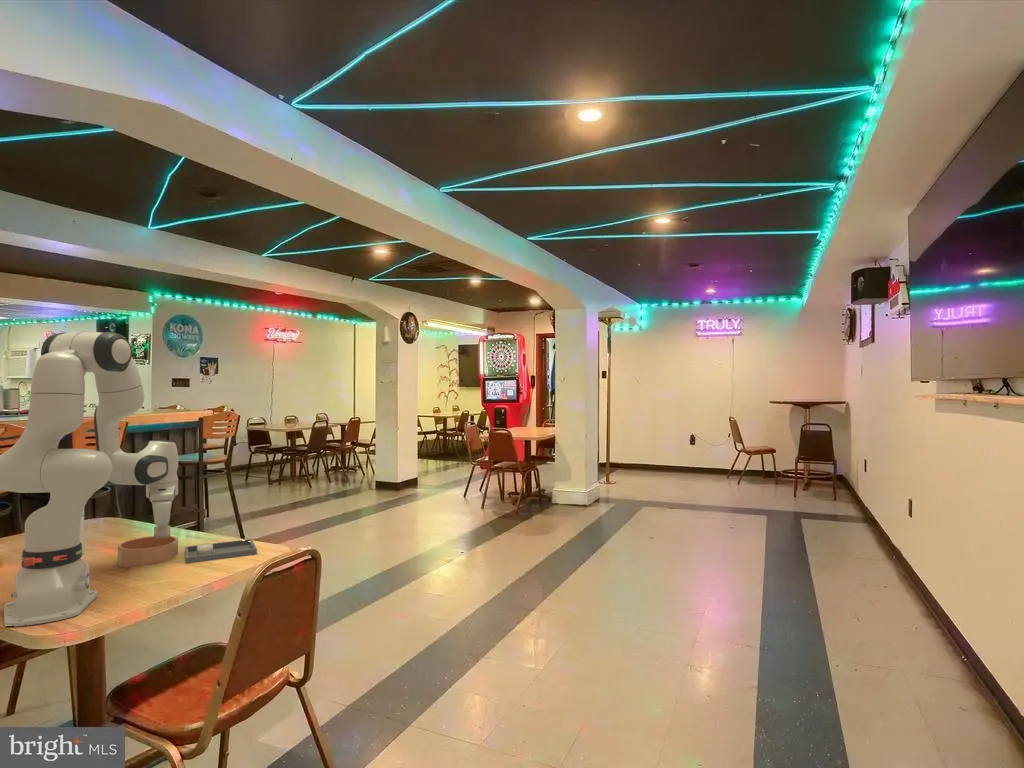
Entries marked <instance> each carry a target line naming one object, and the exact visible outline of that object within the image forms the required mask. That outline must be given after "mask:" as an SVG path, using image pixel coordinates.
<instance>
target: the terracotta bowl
mask: <svg viewBox="0 0 1024 768" xmlns="http://www.w3.org/2000/svg"><path fill="white" fill-rule="evenodd" d="M178 549H179V538H178V537H177V536H173V535H170V537H167V538H162V539H156V538H154V535H151V536H143V537H137V538H132V539H129V540H126V541H123V542H120V543H118V546H117V566H119V565H120V566H119V567H121V566H122V567H121V568H127V567H129V568H131V566H144V565H152V564H153V565H154V564H158V563H161V562H166V561H169V560H172V559H174V558H176V557H177V556H178V555H179V550H178Z"/></svg>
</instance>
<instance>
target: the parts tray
mask: <svg viewBox="0 0 1024 768" xmlns="http://www.w3.org/2000/svg"><path fill="white" fill-rule="evenodd" d="M242 540H243V539H239V540H231V541H223V542H222V541H221V542H213V543H212V544H213V554H208V555H200V556H197V545H189V546H184V557H185V565H186V564H194V563H201V562H208V561H209V562H210V561H218V560H224V559H232V558H238V557H247V556H253V555H254V556H255V555H258V554H257V553H258V548H257V546H256V545H255V543H254V540H253V539H252V538H247V539H244V540H245V541H242ZM248 541H251V542H248Z"/></svg>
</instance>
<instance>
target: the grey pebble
mask: <svg viewBox="0 0 1024 768" xmlns="http://www.w3.org/2000/svg"><path fill="white" fill-rule="evenodd" d="M208 554H213V544H212V543H211V542H206V543H205V542H204V543H201V544H200V543H199V544H198V545H197V556H200V555H208Z"/></svg>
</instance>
